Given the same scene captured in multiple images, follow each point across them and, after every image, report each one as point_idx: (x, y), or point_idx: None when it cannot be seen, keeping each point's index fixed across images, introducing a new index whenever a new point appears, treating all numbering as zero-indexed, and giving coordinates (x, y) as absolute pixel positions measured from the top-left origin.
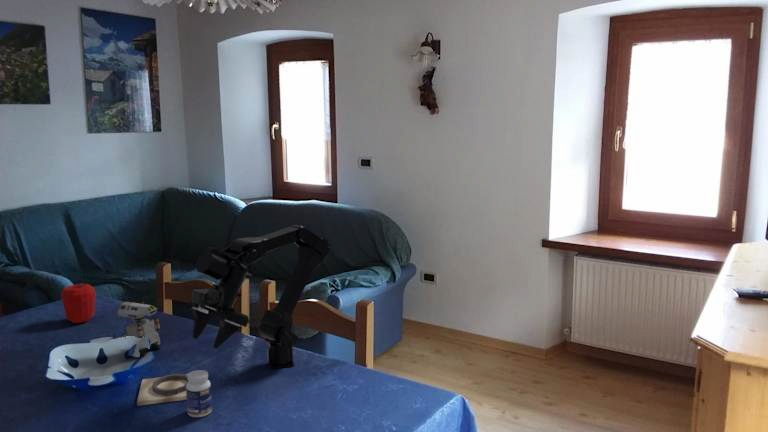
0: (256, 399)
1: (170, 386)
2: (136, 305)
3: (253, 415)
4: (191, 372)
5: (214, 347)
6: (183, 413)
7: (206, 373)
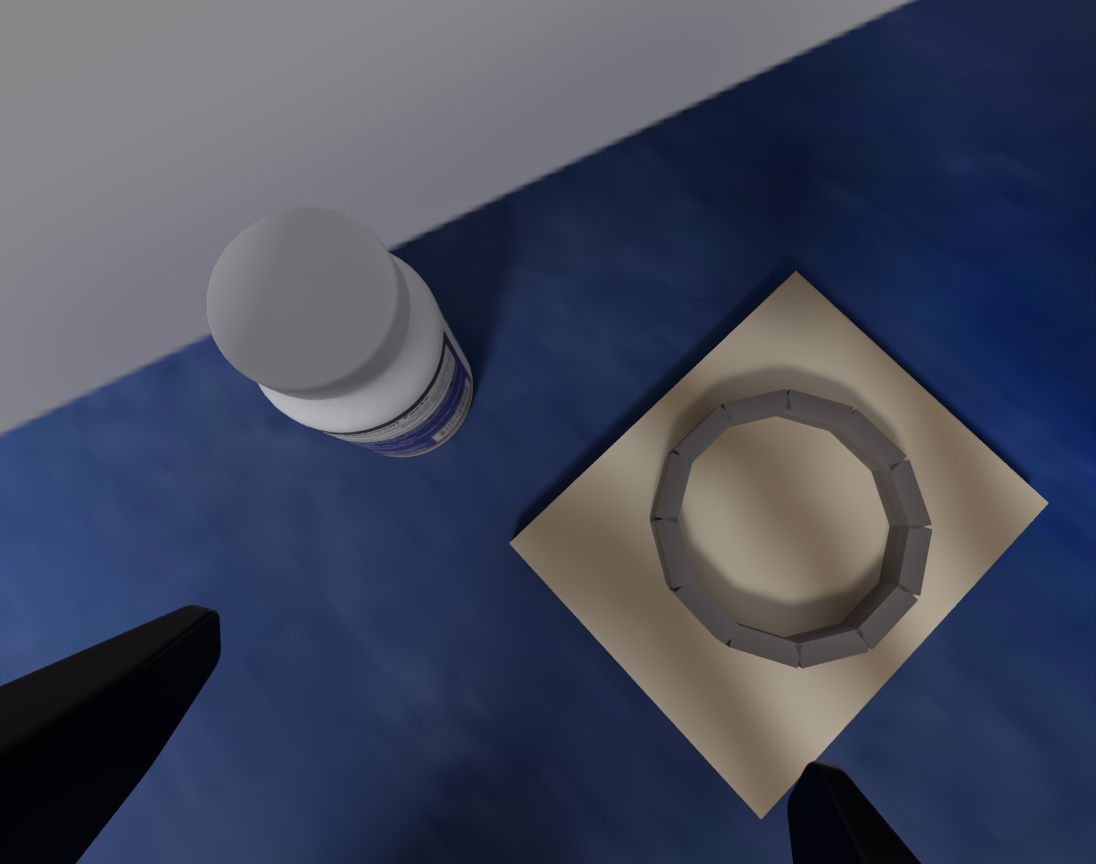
0: None
1: (790, 514)
2: None
3: (92, 508)
4: (378, 288)
5: (190, 608)
6: (483, 339)
7: (230, 344)
